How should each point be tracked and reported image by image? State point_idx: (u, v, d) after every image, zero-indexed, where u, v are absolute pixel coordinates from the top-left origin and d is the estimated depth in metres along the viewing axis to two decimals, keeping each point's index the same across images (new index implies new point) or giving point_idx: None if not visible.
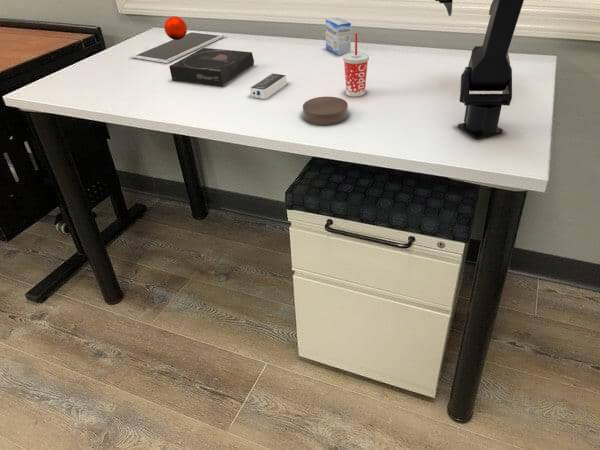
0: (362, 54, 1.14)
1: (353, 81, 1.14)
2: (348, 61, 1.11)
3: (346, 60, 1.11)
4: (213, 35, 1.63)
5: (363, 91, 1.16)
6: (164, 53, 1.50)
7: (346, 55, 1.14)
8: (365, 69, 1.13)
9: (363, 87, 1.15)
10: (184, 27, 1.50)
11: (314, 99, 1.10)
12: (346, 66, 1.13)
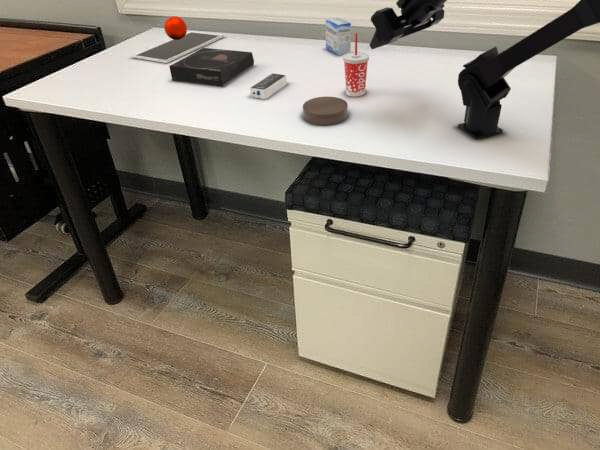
0: (362, 54, 1.14)
1: (353, 81, 1.14)
2: (348, 61, 1.11)
3: (346, 60, 1.11)
4: (213, 35, 1.63)
5: (363, 91, 1.16)
6: (164, 53, 1.50)
7: (346, 55, 1.14)
8: (365, 69, 1.13)
9: (363, 87, 1.15)
10: (184, 27, 1.50)
11: (314, 99, 1.10)
12: (346, 66, 1.13)
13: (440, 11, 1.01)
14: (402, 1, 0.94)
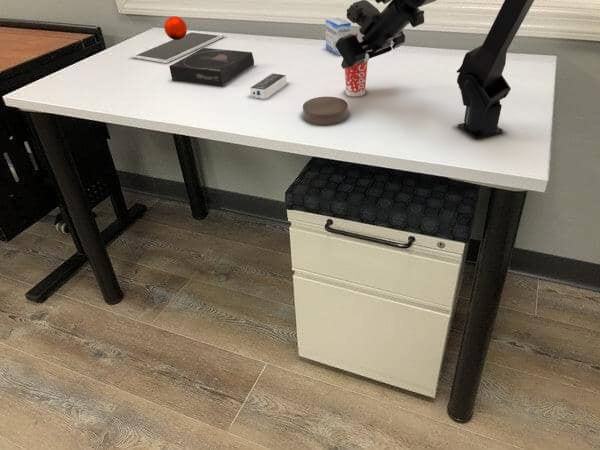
0: None
1: (353, 81, 1.14)
2: None
3: None
4: (213, 35, 1.63)
5: (363, 91, 1.16)
6: (164, 53, 1.50)
7: None
8: (365, 69, 1.13)
9: (363, 87, 1.15)
10: (184, 27, 1.50)
11: (314, 99, 1.10)
12: None
13: (401, 36, 1.10)
14: (364, 28, 1.04)
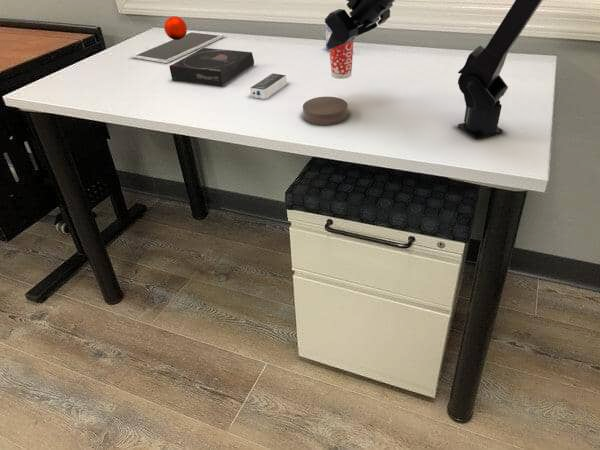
0: None
1: (340, 62, 1.06)
2: None
3: None
4: (213, 35, 1.63)
5: (350, 72, 1.09)
6: (164, 53, 1.50)
7: (330, 35, 1.06)
8: (352, 48, 1.06)
9: (350, 68, 1.08)
10: (184, 27, 1.50)
11: (314, 99, 1.10)
12: None
13: (386, 10, 1.04)
14: (352, 2, 0.97)
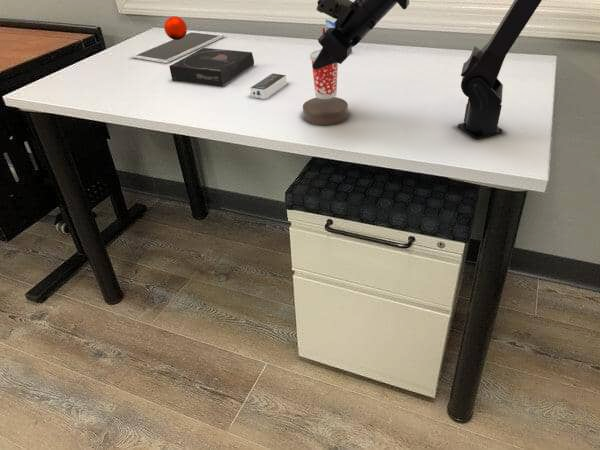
0: None
1: (327, 82, 1.01)
2: None
3: None
4: (213, 35, 1.63)
5: (336, 91, 1.04)
6: (164, 53, 1.50)
7: (313, 54, 1.00)
8: (337, 66, 1.01)
9: (336, 87, 1.04)
10: (184, 27, 1.50)
11: (314, 99, 1.10)
12: None
13: None
14: (341, 20, 0.92)
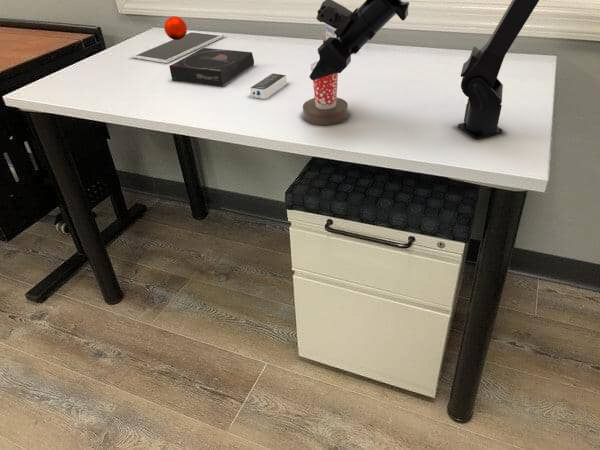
0: None
1: (327, 92, 1.03)
2: None
3: None
4: (213, 35, 1.63)
5: None
6: (164, 53, 1.50)
7: (313, 65, 1.02)
8: (337, 77, 1.03)
9: (336, 97, 1.05)
10: (184, 27, 1.50)
11: (314, 99, 1.10)
12: None
13: None
14: (341, 29, 0.93)
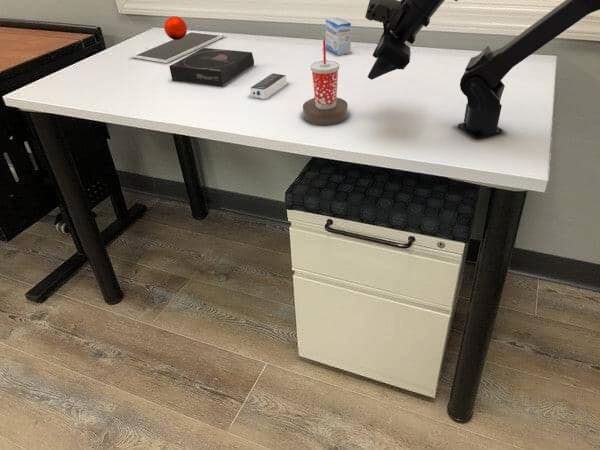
0: (329, 62, 1.03)
1: (327, 92, 1.03)
2: (321, 71, 0.99)
3: (318, 71, 1.00)
4: (213, 35, 1.63)
5: None
6: (164, 53, 1.50)
7: (313, 65, 1.02)
8: (337, 77, 1.03)
9: (336, 97, 1.05)
10: (184, 27, 1.50)
11: (314, 99, 1.10)
12: (318, 77, 1.01)
13: None
14: (394, 23, 0.90)
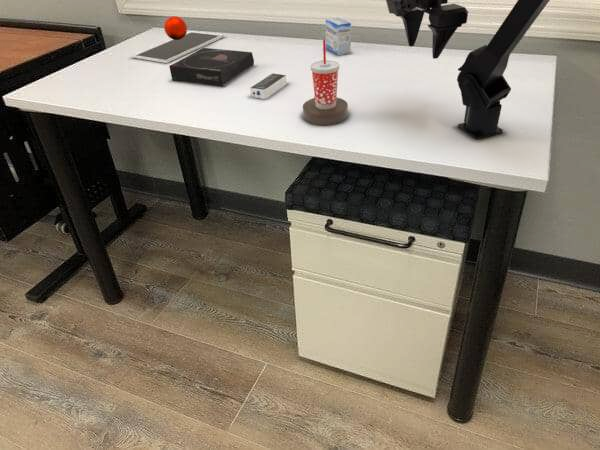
0: (329, 62, 1.03)
1: (327, 92, 1.03)
2: (321, 71, 0.99)
3: (318, 71, 1.00)
4: (213, 35, 1.63)
5: None
6: (164, 53, 1.50)
7: (313, 65, 1.02)
8: (337, 77, 1.03)
9: (336, 97, 1.05)
10: (184, 27, 1.50)
11: (314, 99, 1.10)
12: (318, 77, 1.01)
13: None
14: None
